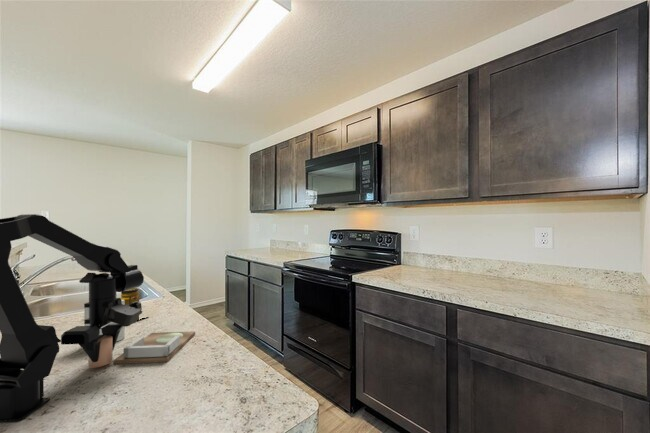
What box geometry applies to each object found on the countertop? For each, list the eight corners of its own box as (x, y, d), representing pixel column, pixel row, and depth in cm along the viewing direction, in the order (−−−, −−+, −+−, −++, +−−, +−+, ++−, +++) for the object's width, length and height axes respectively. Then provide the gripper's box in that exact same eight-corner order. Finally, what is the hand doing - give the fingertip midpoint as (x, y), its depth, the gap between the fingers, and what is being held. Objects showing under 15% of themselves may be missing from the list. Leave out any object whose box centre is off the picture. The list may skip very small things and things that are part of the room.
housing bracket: (167, 356, 76) (167, 346, 76) (123, 357, 75) (123, 348, 75) (179, 344, 83) (179, 335, 83) (139, 345, 82) (139, 337, 82)
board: (167, 361, 75) (167, 357, 75) (113, 363, 74) (113, 359, 74) (195, 334, 93) (195, 331, 93) (151, 335, 92) (151, 332, 92)
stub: (103, 367, 71) (103, 343, 71) (82, 368, 71) (82, 344, 71) (117, 357, 76) (117, 335, 76) (98, 358, 76) (97, 335, 76)
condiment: (114, 323, 105) (114, 290, 105) (136, 315, 113) (136, 285, 113) (128, 325, 102) (127, 292, 102) (149, 317, 110) (149, 287, 110)
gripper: (109, 306, 65) (109, 375, 64) (154, 287, 83) (154, 340, 83) (58, 308, 64) (58, 377, 64) (115, 288, 83) (115, 341, 82)
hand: (103, 356), depth 73 cm, fingers closed on stub, 5 cm apart
